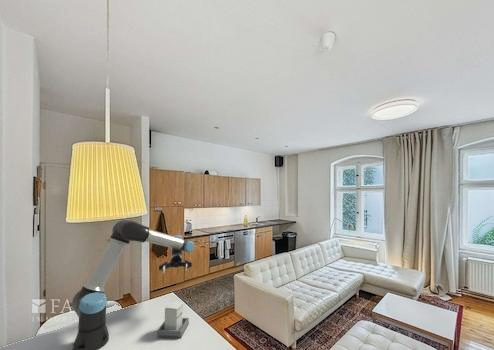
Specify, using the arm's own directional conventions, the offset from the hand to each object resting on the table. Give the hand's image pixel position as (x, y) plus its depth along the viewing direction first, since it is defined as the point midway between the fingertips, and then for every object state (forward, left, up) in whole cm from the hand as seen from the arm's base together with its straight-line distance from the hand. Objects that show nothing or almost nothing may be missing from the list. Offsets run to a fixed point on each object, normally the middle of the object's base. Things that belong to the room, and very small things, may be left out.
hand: (175, 270), depth 137 cm
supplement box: (+9, -4, -29) cm, 31 cm away
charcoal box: (+9, -4, -30) cm, 31 cm away
